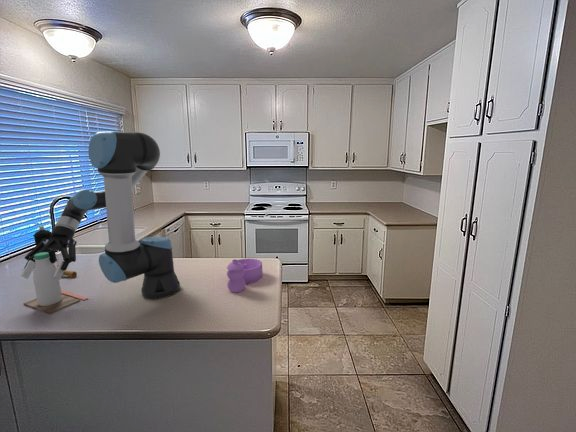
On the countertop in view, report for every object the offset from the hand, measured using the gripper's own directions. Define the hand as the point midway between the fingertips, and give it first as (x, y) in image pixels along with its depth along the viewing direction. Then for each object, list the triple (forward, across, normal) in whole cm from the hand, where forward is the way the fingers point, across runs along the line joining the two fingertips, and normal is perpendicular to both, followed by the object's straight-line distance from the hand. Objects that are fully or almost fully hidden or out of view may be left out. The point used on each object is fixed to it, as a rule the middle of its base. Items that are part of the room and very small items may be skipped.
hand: (40, 277), depth 120 cm
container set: (-11, -71, -28) cm, 77 cm away
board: (+6, 0, -10) cm, 12 cm away
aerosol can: (-26, +44, -42) cm, 66 cm away
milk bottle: (+7, 0, -10) cm, 12 cm away
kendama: (-12, +20, -29) cm, 38 cm away
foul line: (+2, -3, -15) cm, 15 cm away
